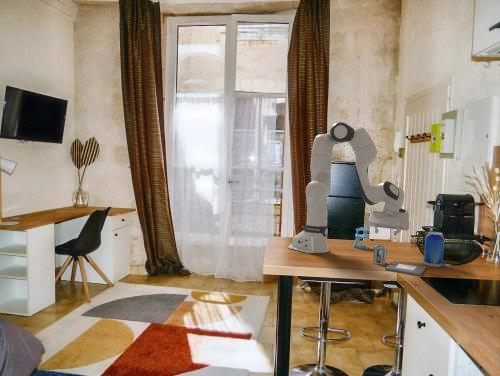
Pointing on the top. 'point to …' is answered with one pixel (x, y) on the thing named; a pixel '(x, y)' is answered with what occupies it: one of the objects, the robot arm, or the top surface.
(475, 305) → the top surface
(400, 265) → the card
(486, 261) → the top surface
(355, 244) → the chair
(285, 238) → the top surface
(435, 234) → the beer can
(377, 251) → the slotted cup
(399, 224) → the robot arm
